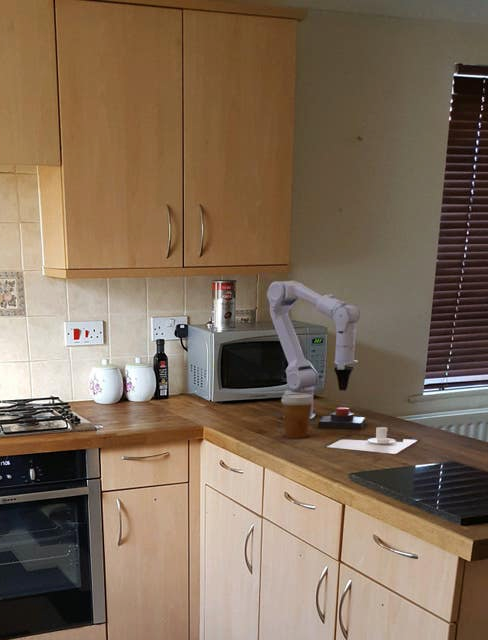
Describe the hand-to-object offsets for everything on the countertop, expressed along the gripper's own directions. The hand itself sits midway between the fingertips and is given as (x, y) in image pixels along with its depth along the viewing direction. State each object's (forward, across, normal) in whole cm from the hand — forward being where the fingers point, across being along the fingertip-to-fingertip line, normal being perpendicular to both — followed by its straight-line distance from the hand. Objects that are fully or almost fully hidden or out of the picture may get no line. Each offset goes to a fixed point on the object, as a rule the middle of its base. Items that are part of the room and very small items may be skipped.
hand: (342, 390), depth 276 cm
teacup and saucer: (+10, -30, -13) cm, 34 cm away
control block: (+10, -6, -1) cm, 12 cm away
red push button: (+7, -6, -1) cm, 9 cm away
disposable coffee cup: (+10, -24, +10) cm, 28 cm away
